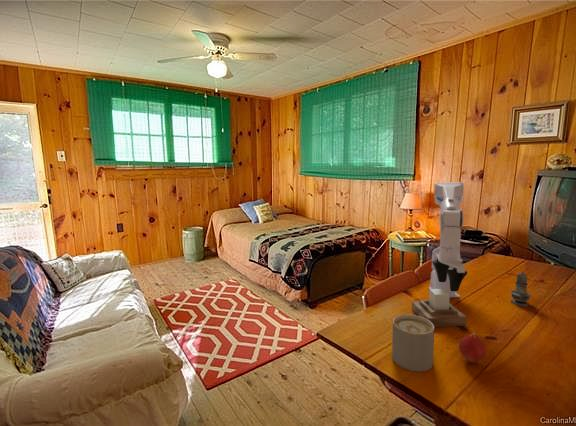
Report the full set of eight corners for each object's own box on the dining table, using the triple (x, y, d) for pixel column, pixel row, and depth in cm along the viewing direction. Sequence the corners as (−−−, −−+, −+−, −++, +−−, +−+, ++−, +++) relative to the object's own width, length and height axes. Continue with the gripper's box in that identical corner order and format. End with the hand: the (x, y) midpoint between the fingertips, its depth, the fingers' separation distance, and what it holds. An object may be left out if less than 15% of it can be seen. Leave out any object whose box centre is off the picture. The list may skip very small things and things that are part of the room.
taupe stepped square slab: (411, 309, 105) (412, 298, 104) (445, 308, 105) (446, 297, 104) (428, 327, 93) (428, 314, 92) (466, 325, 93) (466, 313, 92)
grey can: (418, 377, 71) (419, 338, 70) (384, 356, 79) (384, 321, 78) (447, 356, 79) (449, 321, 77) (413, 339, 87) (414, 307, 85)
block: (428, 305, 101) (429, 289, 100) (442, 305, 101) (443, 288, 100) (434, 312, 96) (435, 294, 96) (448, 312, 96) (449, 294, 95)
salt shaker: (534, 307, 104) (537, 274, 102) (514, 306, 105) (517, 273, 103) (524, 299, 109) (527, 268, 108) (506, 299, 110) (508, 268, 109)
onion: (453, 355, 79) (454, 327, 78) (473, 353, 79) (475, 326, 78) (468, 370, 73) (470, 340, 72) (490, 368, 74) (492, 338, 72)
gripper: (476, 252, 89) (473, 294, 91) (450, 240, 104) (448, 277, 106) (452, 253, 89) (450, 295, 91) (429, 241, 104) (428, 278, 106)
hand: (447, 286), depth 99 cm, fingers open, 7 cm apart
